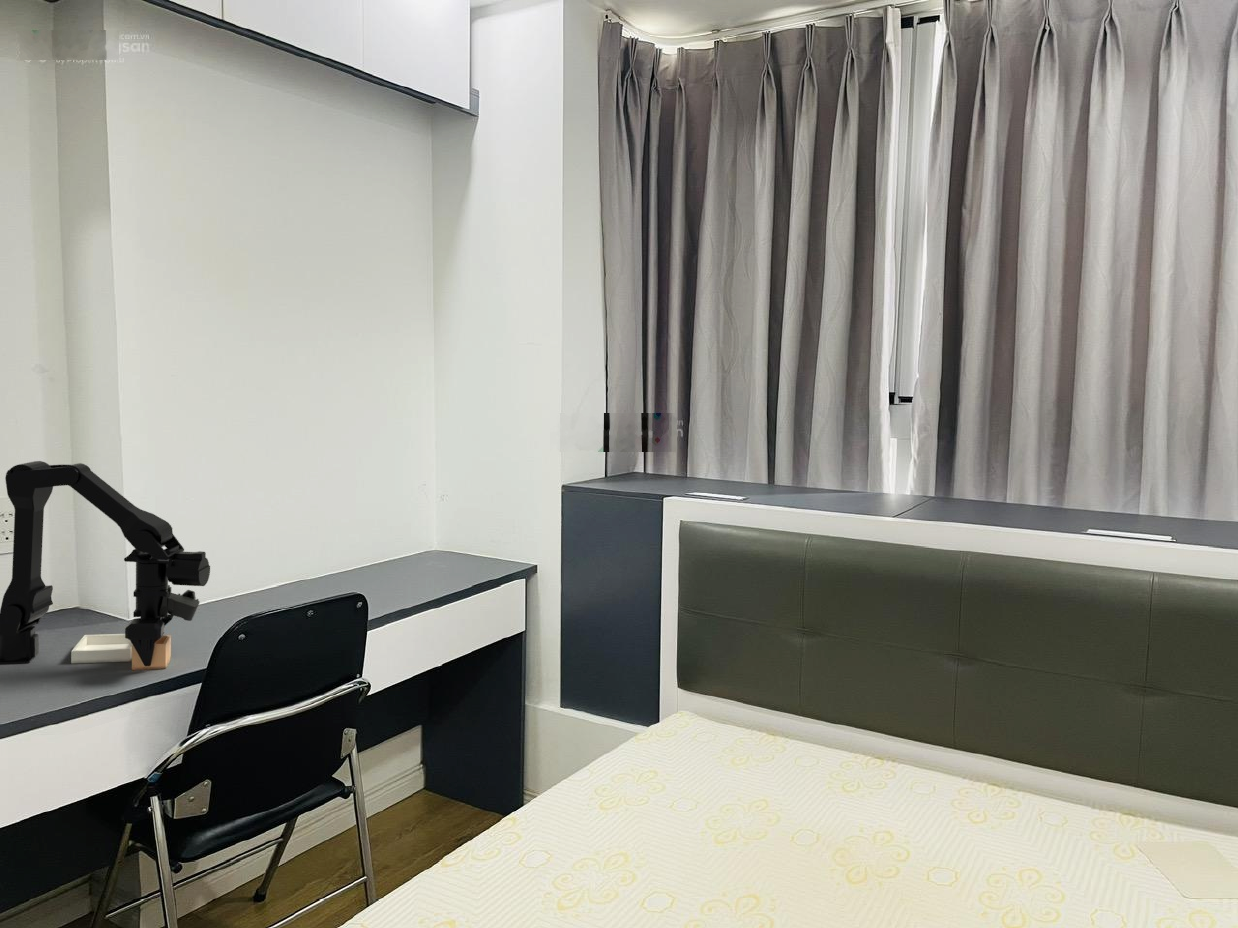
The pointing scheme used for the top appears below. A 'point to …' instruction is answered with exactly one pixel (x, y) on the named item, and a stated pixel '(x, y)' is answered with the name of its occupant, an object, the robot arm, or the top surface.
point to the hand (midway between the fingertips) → (151, 659)
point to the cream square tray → (102, 649)
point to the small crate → (155, 655)
